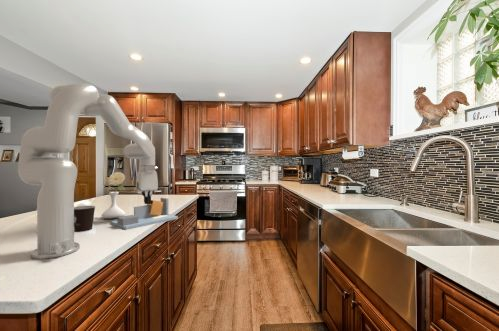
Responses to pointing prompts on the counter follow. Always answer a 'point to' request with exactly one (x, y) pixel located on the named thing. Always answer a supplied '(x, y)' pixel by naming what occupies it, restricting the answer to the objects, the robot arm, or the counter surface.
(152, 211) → the clip
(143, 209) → the rail
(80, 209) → the coffee mug
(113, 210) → the flower in vase
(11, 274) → the counter surface
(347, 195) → the counter surface
